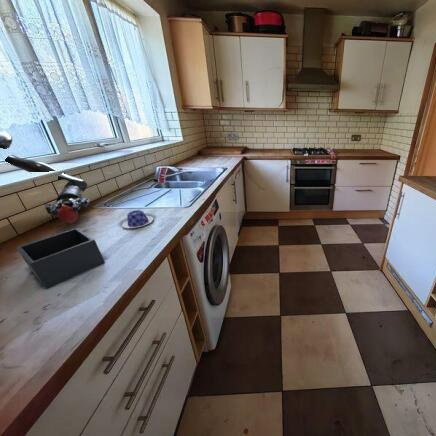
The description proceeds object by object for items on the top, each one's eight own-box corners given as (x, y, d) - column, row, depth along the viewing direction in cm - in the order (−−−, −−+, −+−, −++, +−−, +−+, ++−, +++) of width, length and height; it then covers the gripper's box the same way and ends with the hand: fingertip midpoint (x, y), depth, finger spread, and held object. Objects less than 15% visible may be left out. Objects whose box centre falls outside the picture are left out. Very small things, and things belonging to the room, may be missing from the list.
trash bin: (46, 289, 65) (29, 263, 61) (31, 271, 72) (16, 247, 68) (105, 262, 76) (94, 239, 72) (87, 249, 83) (77, 227, 79)
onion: (83, 218, 95) (75, 200, 92) (77, 224, 90) (69, 206, 87) (66, 220, 93) (57, 202, 90) (59, 227, 89) (49, 208, 85)
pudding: (127, 232, 94) (123, 221, 91) (118, 223, 101) (114, 213, 98) (158, 222, 102) (155, 211, 100) (147, 215, 109) (144, 205, 107)
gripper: (94, 202, 105) (91, 215, 93) (52, 209, 98) (43, 225, 85) (87, 187, 102) (84, 198, 89) (43, 193, 94) (33, 206, 82)
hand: (64, 211), depth 87 cm, fingers closed on onion, 5 cm apart
